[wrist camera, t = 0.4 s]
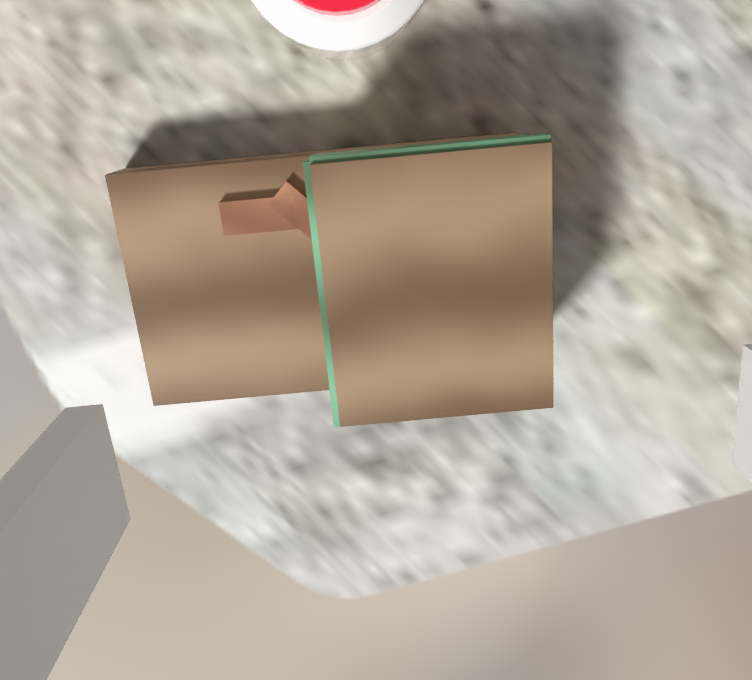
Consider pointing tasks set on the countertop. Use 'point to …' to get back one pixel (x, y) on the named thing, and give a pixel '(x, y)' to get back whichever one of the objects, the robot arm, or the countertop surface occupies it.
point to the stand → (348, 276)
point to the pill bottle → (339, 24)
